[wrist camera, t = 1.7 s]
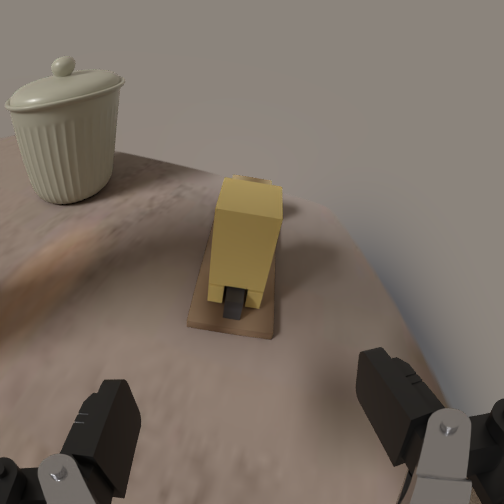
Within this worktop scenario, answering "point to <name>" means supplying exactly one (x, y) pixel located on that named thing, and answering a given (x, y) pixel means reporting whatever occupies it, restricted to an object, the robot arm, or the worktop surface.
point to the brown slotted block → (232, 300)
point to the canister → (67, 130)
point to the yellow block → (244, 238)
